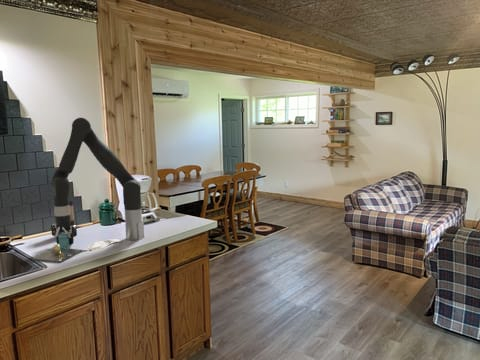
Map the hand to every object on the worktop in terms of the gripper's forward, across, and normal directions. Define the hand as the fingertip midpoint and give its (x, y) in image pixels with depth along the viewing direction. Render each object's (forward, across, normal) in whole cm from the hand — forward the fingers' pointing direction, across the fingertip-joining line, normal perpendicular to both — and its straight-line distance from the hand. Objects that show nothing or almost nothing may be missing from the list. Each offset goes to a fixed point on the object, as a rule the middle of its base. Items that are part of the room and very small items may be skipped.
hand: (65, 243), depth 192 cm
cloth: (+2, -18, -7) cm, 19 cm away
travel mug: (+2, +13, -19) cm, 23 cm away
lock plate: (+1, -6, +13) cm, 14 cm away
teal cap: (+1, 0, 0) cm, 1 cm away
